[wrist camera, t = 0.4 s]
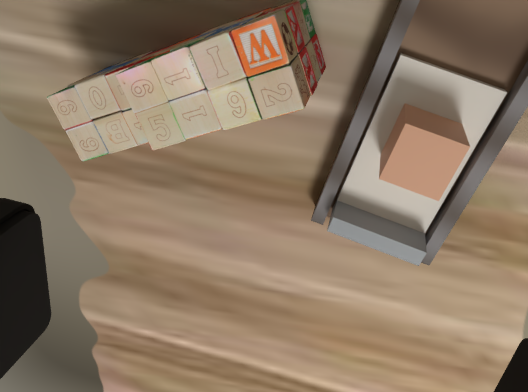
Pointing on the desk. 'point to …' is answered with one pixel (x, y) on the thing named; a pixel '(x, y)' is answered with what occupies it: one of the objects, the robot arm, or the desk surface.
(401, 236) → the white sliding panel
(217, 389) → the desk surface
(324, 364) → the desk surface
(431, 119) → the terracotta block
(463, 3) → the rail board
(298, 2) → the stack of blocks
